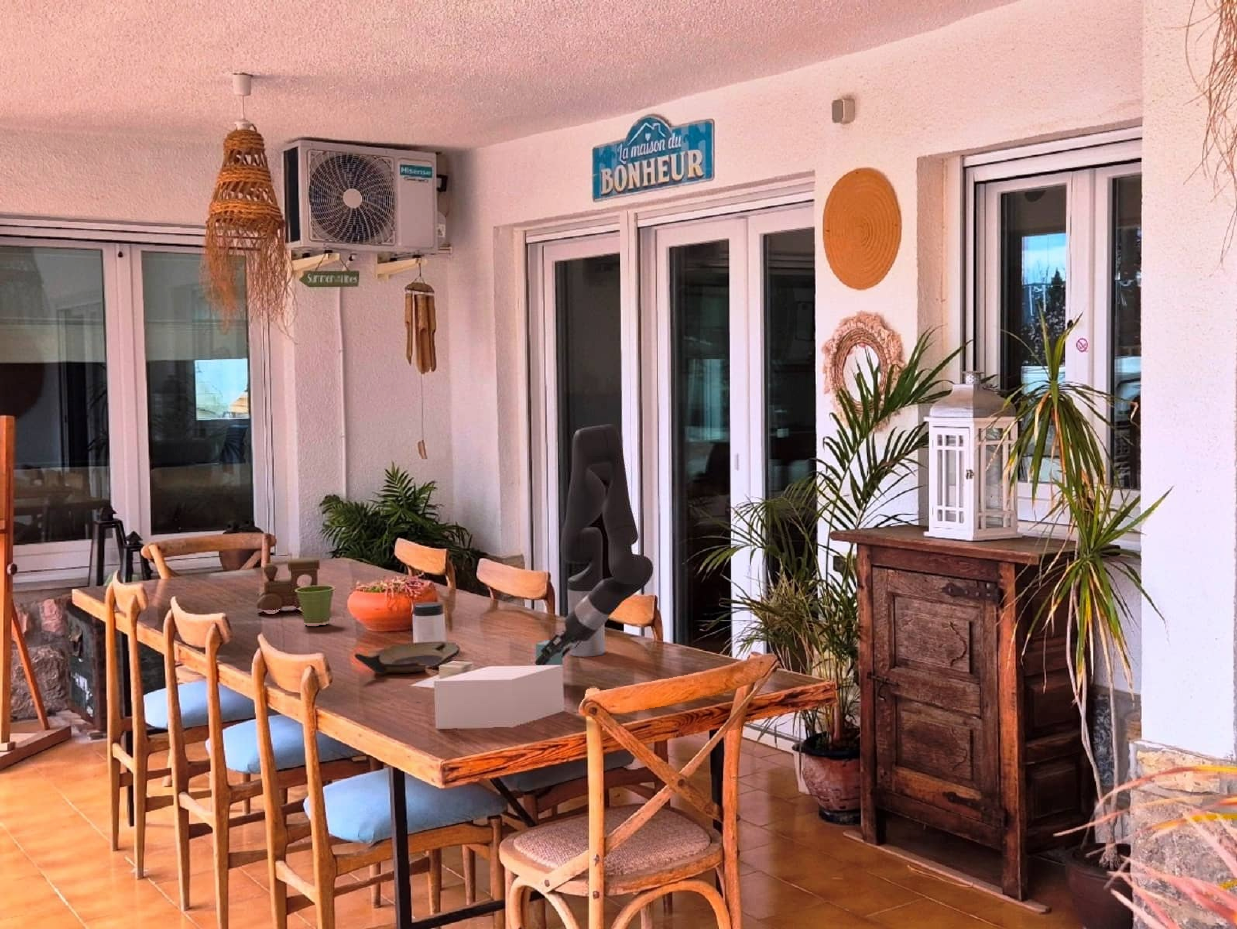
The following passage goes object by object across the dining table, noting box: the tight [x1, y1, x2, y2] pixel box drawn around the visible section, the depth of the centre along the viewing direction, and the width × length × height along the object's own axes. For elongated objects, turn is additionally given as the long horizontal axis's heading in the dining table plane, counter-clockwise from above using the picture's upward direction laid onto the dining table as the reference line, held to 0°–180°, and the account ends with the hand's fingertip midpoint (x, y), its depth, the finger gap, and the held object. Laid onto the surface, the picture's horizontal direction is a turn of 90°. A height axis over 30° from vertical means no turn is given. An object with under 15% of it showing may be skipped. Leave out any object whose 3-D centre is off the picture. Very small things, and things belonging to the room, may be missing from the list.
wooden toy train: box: [256, 557, 321, 611], centre depth 425 cm, size 20×11×17 cm, turn 107°
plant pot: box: [295, 585, 336, 623], centre depth 398 cm, size 12×12×11 cm
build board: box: [409, 674, 439, 689], centre depth 314 cm, size 16×16×1 cm
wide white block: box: [433, 665, 565, 730], centre depth 281 cm, size 14×29×10 cm, turn 115°
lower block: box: [438, 660, 475, 680], centre depth 314 cm, size 6×6×4 cm
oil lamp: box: [354, 641, 461, 675], centre depth 331 cm, size 22×30×8 cm
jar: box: [412, 601, 447, 643], centre depth 360 cm, size 9×8×12 cm
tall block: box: [535, 640, 563, 665], centre depth 312 cm, size 4×4×10 cm
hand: (546, 661), depth 312 cm, fingers open, 8 cm apart
